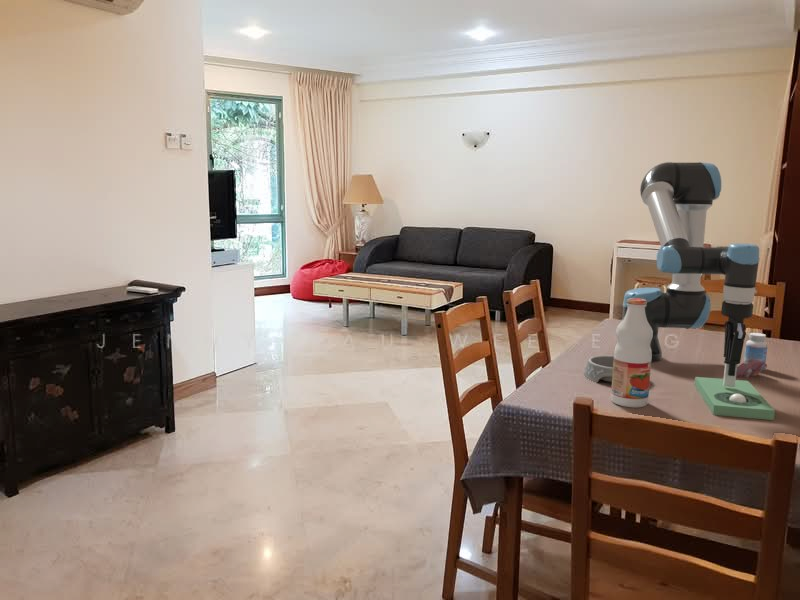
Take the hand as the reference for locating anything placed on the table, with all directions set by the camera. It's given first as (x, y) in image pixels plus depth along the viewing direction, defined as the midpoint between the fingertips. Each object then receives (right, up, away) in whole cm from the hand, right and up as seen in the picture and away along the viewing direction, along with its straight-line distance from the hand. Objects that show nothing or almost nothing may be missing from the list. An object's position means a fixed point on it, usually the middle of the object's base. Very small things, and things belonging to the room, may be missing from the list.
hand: (728, 385), depth 181 cm
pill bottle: (+23, +1, +30) cm, 38 cm away
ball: (-2, -3, -9) cm, 10 cm away
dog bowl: (-26, 0, +18) cm, 31 cm away
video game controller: (+16, 0, +21) cm, 26 cm away
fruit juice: (-29, -4, -5) cm, 30 cm away
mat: (-1, -4, -3) cm, 5 cm away
